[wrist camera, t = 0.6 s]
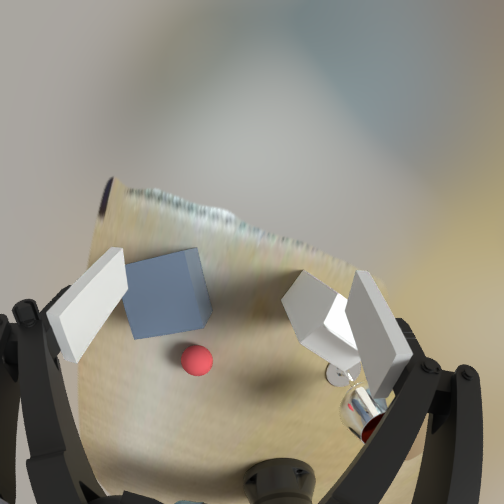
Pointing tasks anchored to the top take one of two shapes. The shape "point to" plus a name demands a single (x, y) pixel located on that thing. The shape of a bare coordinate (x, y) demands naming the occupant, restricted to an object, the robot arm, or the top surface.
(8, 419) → the robot arm
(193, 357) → the ball
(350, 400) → the wineglass
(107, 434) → the top surface
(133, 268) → the blue gray block
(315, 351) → the milk
